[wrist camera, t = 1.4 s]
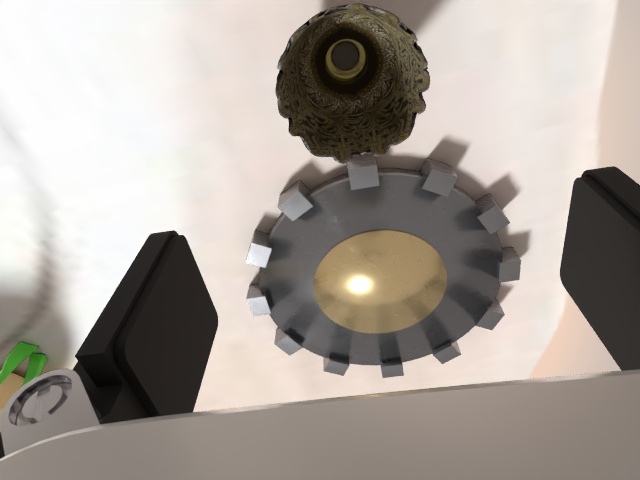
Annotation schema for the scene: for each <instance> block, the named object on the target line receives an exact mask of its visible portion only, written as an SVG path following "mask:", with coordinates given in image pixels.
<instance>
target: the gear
mask: <svg viewBox="0 0 640 480" xmlns="http://www.w3.org/2000/svg"><path fill="white" fill-rule="evenodd" d="M349 159H350V158H349ZM347 168H348V174H345V175H342V176H339V177H336V178H334V179H331V180H328V181H326V182H324V183H322V184H320V185H318V186H316V187H314V188H313V189H311V190H309V189H308V188H307V187H306V186H305V185H304V184H303V183H302V182H301V181H300V180H298V181H297V182H296V183H295V184H293V185H292V186H291V187H290V188H288V189H287V190H286V191H285V192H283V193H282V194H281V195H280V197H279V203H278V208H279V209H280V210H281V211H282V212H283V214H282V215H281V216H280V217H279V218H278V220H277V221H276V223H275V225H274V226H273V228H272V229H271V231H270V233H269V234H267V233H263V232H260V231H256V230H255V231H254V235H253V238H252V241H251V244H250V247H249V251H248V255H247V259H246V263H249V264H252V265H256V266H259V267H260V272H259V282H260V284H254V285H249V290H248V294H247V302H248V304H249V307H250V310H251V312H252V315H253V316H258V315H266V314H269V315H270V316H271V318H272V319H273V321H274V322H275V323H276V325H277V326H278V327H279V328H278V329H276V336H275V345H276V346H278V347H279V348H280V349H282V350H283V351H284V352H286V353H287V354H288V355H291V354H293V353H295V352H296V351H298V350H300V349H301V348H305V349H307V350H309V351H311V352H313V353H315V354H318V355H320V356H322V357H324V371H325V372H330V373H334V374H338V375H342V376H343V375H344V374H345V372H346V370H347V369H348V367H349V363H350V364H359V365H381V370H382V376H383V378H386V377H394V376H403V375H404V374H403V366H402V362H406V361H410V360H414V359H418V358H421V357H424V356H427V355H430V354H432V353H433V356H435V357H436V358H437V359H438V360H439V361H440V362H441V363H442V364H443V363H445V362H447V361H449V360H451V359H453V358H455V357H457V356H459V355H461V353H460V350H459V347H458V344H457V340H458V339H459V338H461V337H462V336H464V335H465V334H466V333H467V332H469V331H470V330H471V329H472V328H473V327H474V326H475V325H476V326H479V327H482V328H486V329H490V330H493V328H494V327H495V326H496V325H497V323H498V322H499V321H500V320H501V318H502V317H503V316H504V315H505V314H504V312H503V310H502V308H501V306H500V304H499V302H498V300H495V297H496V295H497V293H498V290H499V286H500V283H501V282H507V281H514V280H519V276H520V264H521V260H520V258H519V257H518V255H517V253H516V252H515V250H514V248H513V247H509V248H502V249H501V244H500V241H499V238H498V236H497V233H496V231H497V230H499V229H501V228H502V227H504V226H506V225H507V224H509V223H510V222H509V220H508V219H507V217H506V216H505V214H504V213H503V211H502V210H501V208H500V207H499V206H498V204H497V203H496V202H495V200H494V199H493V197H492V196H491V195H490V193H488V194H487V195H485V196H484V197H482V198H481V199H479V200H477V201H476V202H475V201H474V200H473V199H472V198H471V197H470V196H469V195H467V194H466V193H465V192H464V191H462V190H461V189H459V188H458V187H456V186H454V184H455V182H456V181H457V179H458V176H457V174H456V173H455V171H454V169H453V167H452V166H449V165H446V164H443V163H440V162H437V161H434V160H432V159H429V158H427V159H426V161H425V163H424V165H423V167H422V169H421V171H420V172H418V171H412V170H405V169H385V168H380V169H377V163H376V159H375V155H374V154H372V155H367V156H361V157H355V158H351V159H350V160H349V162H348V163H347Z"/></svg>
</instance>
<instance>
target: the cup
mask: <svg viewBox="0 0 640 480" xmlns="http://www.w3.org/2000/svg"><path fill="white" fill-rule="evenodd" d="M344 42H348V43H351V44H353V45H354V46H355V47H356V49H357V51H358V61H357V63H356V65H355V66H354V67H352V68H351V69H348V70H342V69H339V68H338V67H337V66H336V65H335V64H334V62H333V58H332V55H333V51H334V49H335V48H336V46H338V45H339V44H341V43H344ZM416 42H417V38H416V36H415V34H414V33H413V32H412V31H411V30H410V29H408V28H407V27H406V26H405V25H404V24H403V23H402V22H401V20H400V19H399V18H398V17H396V16H395V15H394V14H392V13H390V12H388V11H386V10H383V9H380V8H377V7H373V6H368V5H365V4H349V5H342V6H337V7H334V8H331V9H328V10H326V11H323V12H320V13H318V14H317V15H315V16H313V17H312V18H311V19H309V20H308V21H307V22H306V23H305V24H304V25H302V26H301V27H300V28H298V29H297V30H296V31H295V32H294V34H293V35H292V36H291V37H290V39H289V41H288V44H287V47H286V49H285V51H284V53H283V54H282V56H281V58H280V59H279V62H278V67H277V69H279V70H280V71H279V74H278V76H277V84H276V96H277V99H278V98H279V99H278V110H279V113H280V115H281V116H282V117H284V118H288V119H289V133H290V134H291V135H292V136H300V138H301V139H302V141H303V142H304V145H305V147H306V148H307V149H308V150H309V151H310V152H311V153H312V154H313V155H315V156H318V157H333V158H334V160H335V161H337V162H339V163H342V164H344V163H348V162H349V160H350V159H351V158H352V156H353V155H355V154H358V155H363V154H365V153H367V152H372V153H374V155H375V156H376V157H378V156H382V155H384V154H385V153H386V152H387V151H388V149H389V146H392V145H397V144H400V143H401V142H403V141H404V140H406V139H407V138H408V137H409V136H410V134H411V132H412V130H413V127H414V124H415V119H416V115H417V113H419V114H421V113H423V112H424V111H425V108H426V104H425V101H424V99H423V96H422V92H425V91H426V90H428V88H429V85H430V76H429V72H428V71H427V70H426V69H428V67H427V65H428V63H427V60H426V58H425V56H424V55H423V52H422V50H421V48H420V46H418V45H417V43H416ZM419 114H418V115H419ZM350 156H351V157H350ZM349 158H350V159H349Z"/></svg>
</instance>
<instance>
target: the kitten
mask: <svg viewBox="0 0 640 480" xmlns="http://www.w3.org/2000/svg"><path fill="white" fill-rule="evenodd" d="M38 347H39V346H34V345H29V344H26V343H23V342H21V341H20V342H19V343H18V344H17V346H16V347H15V348H14V349H13V350H12V351H11V352H10V353H9V355H8V356H7V358H6V359H5V361H4V364H3V367H2V369H1V370H0V415H1V412H2V410H3V408H4V406H5V404H6V403H7V402H8V401H9V399H10V398H11V397H12V395H13V394H15V393H16V392H17V391H18V390H19V389H20V388H21V387H22V386H23V385H25V384H26V383H28V382H29V381H31V380H32V379H34V378H36V377H38V376H40V373H41V371H42V369H43V367H44V364H45V363H46V362H47V358H46V357H45V355H43V354H35V353H33V352H34V351H35V350H36V349H37V348H38ZM30 354H31V355H30ZM29 355H30V359H29V364H28V368H27V372H26V375H25V378H23V377H21V376H19V375H16V374H13V373H11V372H12V371H13V370H14V369H15V368H16V367H17V366H18V365H19V364H20V363H21V362H22V361H23V360H24V359H26V358H27V357H28V356H29ZM0 432H1V430H0Z"/></svg>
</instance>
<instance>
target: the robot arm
mask: <svg viewBox="0 0 640 480" xmlns="http://www.w3.org/2000/svg"><path fill="white" fill-rule="evenodd" d="M560 277H561V281H562V284H563V286H564V287H565V289H566V290H567V292H568V293H569V295H570V296H571V297H572V299H573V300H574V302H575V303H576V305H577V306H578V308H579V309H580V311H581V312H582V314H583V315H584V316H585V318H586V319H587V321H588V322H589V324H590V325H591V327H592V328H593V330H594V331H595V332H596V334H597V335H598V337H599V338H600V340H601V341H602V343H603V344H604V346H605V347H606V348H607V350H608V351H609V353H610V354H611V356H612V357H613V359H614V360H615V362H616V363H617V365H618V366H619V367H620V369H621V370H622V371H612V372H602V373H591V374H580V375H568V376H557V377H546V378H536V379H525V380H514V381H503V382H492V383H481V384H471V385H460V386H450V387H439V388H429V389H419V390H408V391H398V392H388V393H378V394H367V395H357V396H347V397H337V398H327V399H317V400H307V401H298V402H288V403H278V404H268V405H259V406H249V407H239V408H230V409H220V410H210V411H201V412H193V410H194V406H195V403H196V399H197V396H198V393H199V389H200V386H201V382H202V379H203V375H204V372H205V369H206V365H207V362H208V358H209V355H210V351H211V348H212V344H213V341H214V338H215V334H216V331H217V327H218V316H217V312H216V310H215V307H214V305H213V302H212V300H211V298H210V295H209V293H208V290H207V288H206V285H205V283H204V281H203V278H202V276H201V273H200V271H199V269H198V266H197V264H196V261H195V259H194V256H193V254H192V252H191V249H190V247H189V244H188V242H187V240H186V238H185V237H184V236H183V235H178V234H177V232H176V231H167V232H160V233H153V234H151V235H150V236H149V237H148V238H147V240H146V242H145V243H144V245H143V247H142V248H141V250H140V251H139V253H138V255H137V256H136V258H135V260H134V261H133V263H132V264H131V266H130V268H129V269H128V271H127V273H126V274H125V276H124V277H123V279H122V281H121V282H120V284H119V286H118V287H117V289H116V290H115V292H114V294H113V295H112V297H111V299H110V300H109V302H108V303H107V305H106V307H105V308H104V310H103V312H102V313H101V315H100V316H99V318H98V320H97V321H96V323H95V325H94V326H93V328H92V329H91V331H90V333H89V334H88V336H87V338H86V339H85V341H84V342H83V344H82V346H81V347H80V349H79V351H78V352H77V354H76V355H75V357H76V358H77V360H78V362H77V364H76V365H75V367H74V369H73V370H70V369H56V370H53V371H49V372H46V373H44V374H42V375H40V376H38V377H36V378H34V379H32V380H31V381H29V382H28V383H26V384H25V385H23V386H22V387H21V388H20V389H19V390H18V391H17V392H16V393H15V394H13V395H12V397H11V398H10V399H9V401H8V402H7V403H6V404H5V406H4V408H3V410H2V412H1V415H0V430H1V432H0V480H640V185H639V184H637V183H636V182H635V181H634V180H632V179H631V178H630V177H629V176H627V175H626V174H624V173H623V172H622V171H621V170H619V169H618V168H616V167H606V168H599V169H592V170H586V171H585V172H583V174H582V176H581V177H580V178H577V179H575V181H574V184H573V190H572V197H571V203H570V209H569V216H568V222H567V229H566V235H565V241H564V248H563V254H562V261H561V267H560Z"/></svg>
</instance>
